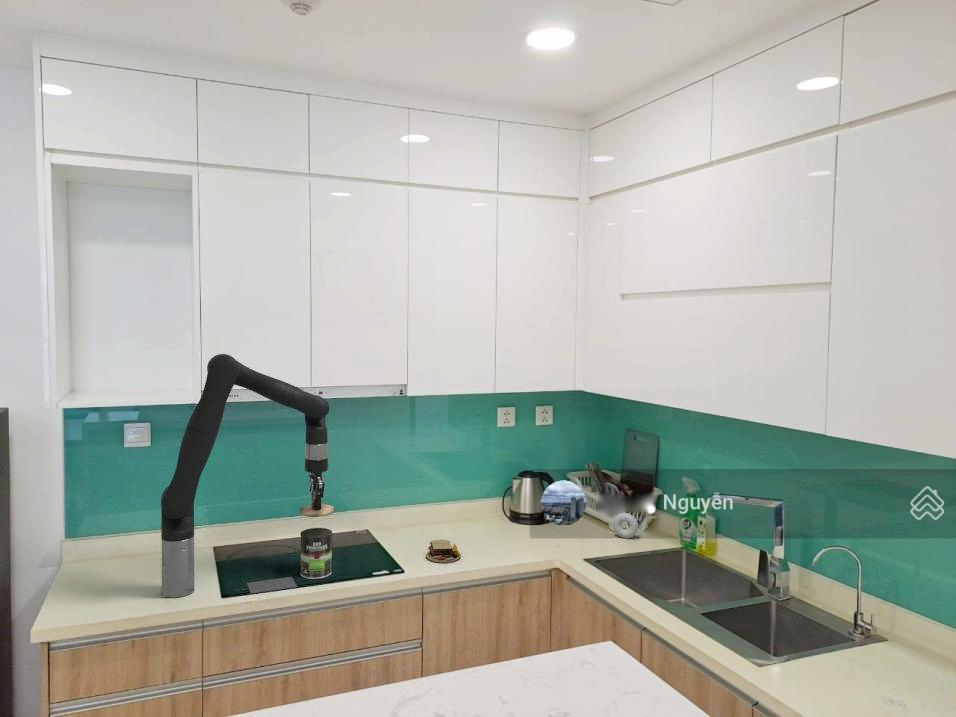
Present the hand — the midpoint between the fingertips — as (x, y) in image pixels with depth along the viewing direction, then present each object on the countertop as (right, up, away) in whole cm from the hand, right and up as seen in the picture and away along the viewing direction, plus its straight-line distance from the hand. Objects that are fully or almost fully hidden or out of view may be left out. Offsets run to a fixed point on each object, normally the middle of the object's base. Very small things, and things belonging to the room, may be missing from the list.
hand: (316, 507), depth 227 cm
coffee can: (0, -22, +1) cm, 22 cm away
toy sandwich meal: (+41, -22, +20) cm, 50 cm away
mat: (-12, -23, -10) cm, 27 cm away
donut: (+112, -22, +45) cm, 122 cm away
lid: (0, -1, 0) cm, 1 cm away
